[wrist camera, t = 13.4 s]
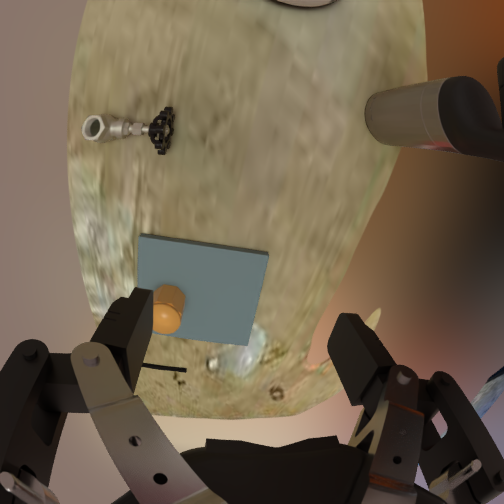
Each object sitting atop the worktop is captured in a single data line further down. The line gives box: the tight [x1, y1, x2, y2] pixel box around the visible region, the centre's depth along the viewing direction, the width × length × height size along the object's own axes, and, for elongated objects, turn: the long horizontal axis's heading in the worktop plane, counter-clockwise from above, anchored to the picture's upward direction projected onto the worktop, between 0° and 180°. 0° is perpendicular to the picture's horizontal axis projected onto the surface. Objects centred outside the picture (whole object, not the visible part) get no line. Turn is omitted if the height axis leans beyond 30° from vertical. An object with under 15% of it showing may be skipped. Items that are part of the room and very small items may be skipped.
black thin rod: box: [142, 363, 186, 373], centre depth 50 cm, size 12×1×1 cm, turn 83°
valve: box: [81, 107, 175, 155], centre depth 31 cm, size 7×7×12 cm
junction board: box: [138, 233, 269, 346], centre depth 44 cm, size 20×18×2 cm
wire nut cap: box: [153, 284, 185, 334], centre depth 40 cm, size 5×5×6 cm
